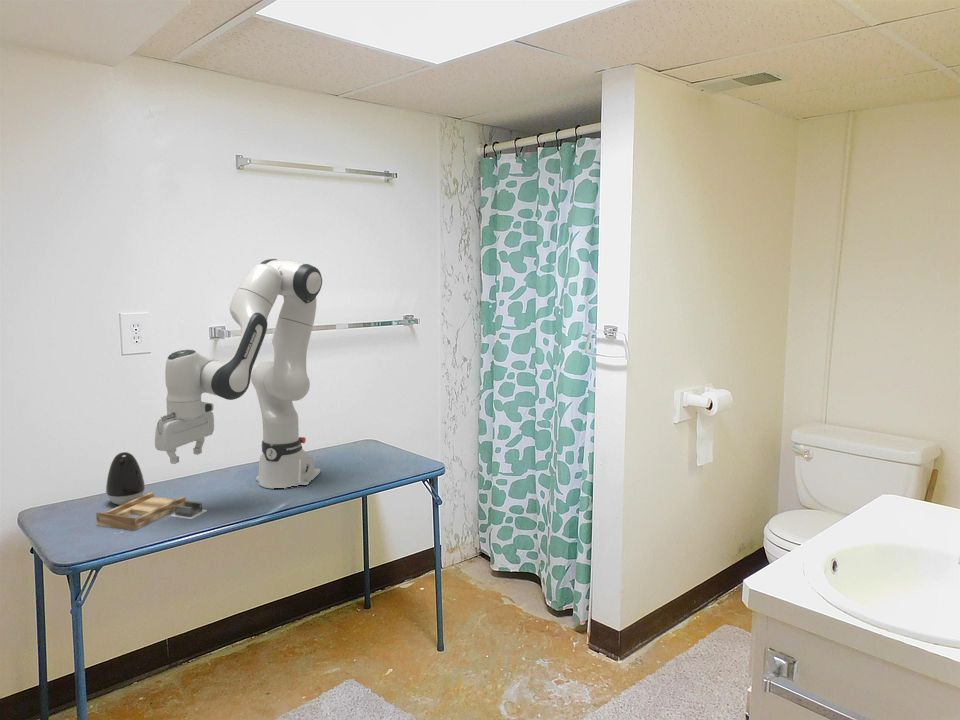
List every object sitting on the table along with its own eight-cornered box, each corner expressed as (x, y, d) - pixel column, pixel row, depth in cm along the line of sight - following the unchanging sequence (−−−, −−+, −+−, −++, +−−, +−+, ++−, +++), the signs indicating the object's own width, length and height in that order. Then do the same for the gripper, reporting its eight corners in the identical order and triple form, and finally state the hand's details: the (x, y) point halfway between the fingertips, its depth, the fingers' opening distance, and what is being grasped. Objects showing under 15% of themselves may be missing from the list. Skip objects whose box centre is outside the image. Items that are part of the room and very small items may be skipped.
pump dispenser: (103, 509, 201) (100, 458, 199) (111, 497, 211) (108, 448, 208) (142, 507, 204) (139, 456, 201) (148, 495, 214) (145, 446, 211)
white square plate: (186, 511, 201) (186, 507, 201) (207, 514, 199) (207, 510, 199) (169, 520, 194) (169, 515, 194) (191, 523, 192) (191, 518, 192)
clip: (187, 508, 200) (186, 500, 199) (202, 511, 198) (202, 502, 198) (175, 515, 195) (174, 506, 194) (190, 517, 193) (190, 508, 193)
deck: (151, 504, 206) (150, 489, 205) (186, 509, 203) (185, 494, 202) (97, 529, 187) (96, 513, 186) (134, 534, 184) (133, 518, 183)
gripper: (167, 418, 181) (170, 470, 183) (217, 403, 201) (219, 450, 203) (147, 416, 183) (149, 467, 185) (198, 401, 203) (200, 448, 205)
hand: (186, 458), depth 194 cm, fingers open, 8 cm apart
